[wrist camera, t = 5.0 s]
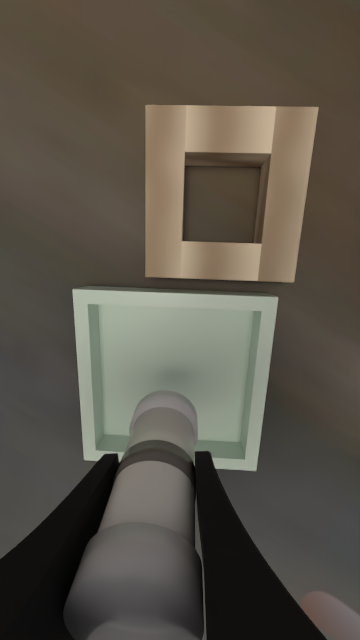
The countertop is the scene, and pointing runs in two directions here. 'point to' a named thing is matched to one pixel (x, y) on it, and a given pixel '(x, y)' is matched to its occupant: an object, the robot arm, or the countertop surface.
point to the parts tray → (175, 364)
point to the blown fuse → (145, 537)
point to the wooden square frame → (228, 151)
